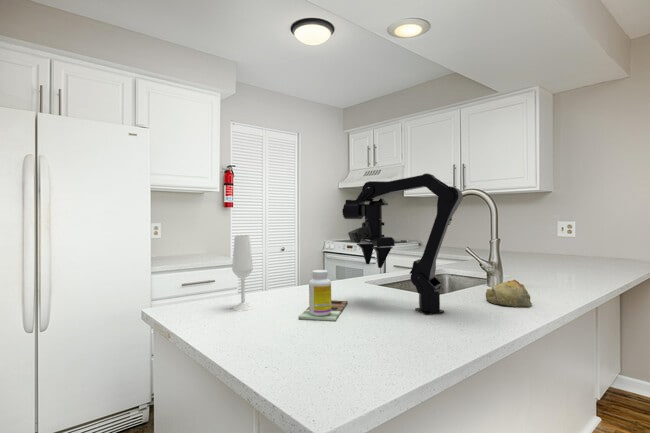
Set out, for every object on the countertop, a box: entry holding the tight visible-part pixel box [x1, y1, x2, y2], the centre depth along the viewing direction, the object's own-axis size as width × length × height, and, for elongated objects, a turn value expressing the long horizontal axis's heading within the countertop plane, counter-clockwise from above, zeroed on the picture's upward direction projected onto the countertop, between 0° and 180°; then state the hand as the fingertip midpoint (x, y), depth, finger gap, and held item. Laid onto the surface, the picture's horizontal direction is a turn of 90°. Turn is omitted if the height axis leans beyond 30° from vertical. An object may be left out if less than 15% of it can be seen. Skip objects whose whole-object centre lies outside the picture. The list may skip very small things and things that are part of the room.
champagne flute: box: [231, 234, 254, 312], centre depth 122 cm, size 7×7×24 cm
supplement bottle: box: [308, 269, 332, 316], centre depth 111 cm, size 7×7×13 cm
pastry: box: [485, 279, 533, 308], centre depth 124 cm, size 14×12×8 cm
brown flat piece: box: [298, 299, 349, 322], centre depth 117 cm, size 22×11×1 cm, turn 167°
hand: (373, 265), depth 123 cm, fingers open, 9 cm apart
